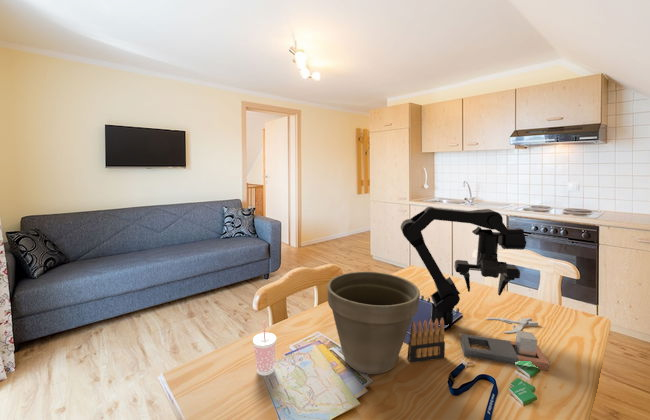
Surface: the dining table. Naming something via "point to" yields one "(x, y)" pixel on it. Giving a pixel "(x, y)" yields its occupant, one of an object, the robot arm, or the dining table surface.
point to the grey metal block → (525, 344)
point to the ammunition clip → (426, 342)
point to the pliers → (522, 322)
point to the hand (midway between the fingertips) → (483, 293)
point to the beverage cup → (264, 352)
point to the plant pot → (372, 317)
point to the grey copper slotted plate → (499, 351)
